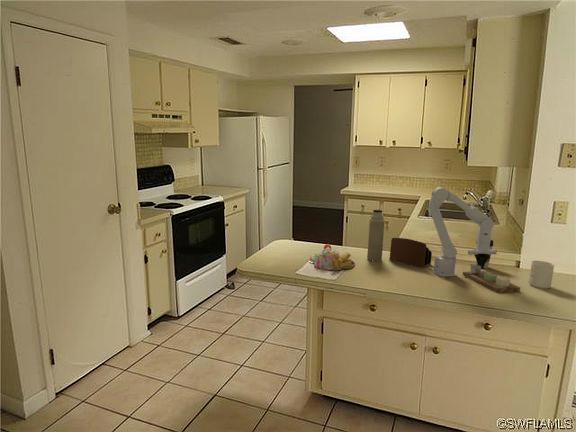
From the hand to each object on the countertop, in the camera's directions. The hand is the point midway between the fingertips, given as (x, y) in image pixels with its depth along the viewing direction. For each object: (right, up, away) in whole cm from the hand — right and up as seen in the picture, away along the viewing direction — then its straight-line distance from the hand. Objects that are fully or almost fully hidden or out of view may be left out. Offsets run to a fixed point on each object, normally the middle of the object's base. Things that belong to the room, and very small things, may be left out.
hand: (480, 268), depth 196 cm
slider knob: (-3, -2, 0) cm, 3 cm away
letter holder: (-27, 0, +24) cm, 36 cm away
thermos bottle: (-46, +1, +27) cm, 54 cm away
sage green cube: (+1, -5, -7) cm, 9 cm away
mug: (+24, -7, -7) cm, 26 cm away
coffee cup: (+11, -2, +20) cm, 23 cm away
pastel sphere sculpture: (-72, 0, +16) cm, 73 cm away
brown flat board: (+1, -6, -7) cm, 9 cm away
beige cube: (+3, -6, -15) cm, 16 cm away
